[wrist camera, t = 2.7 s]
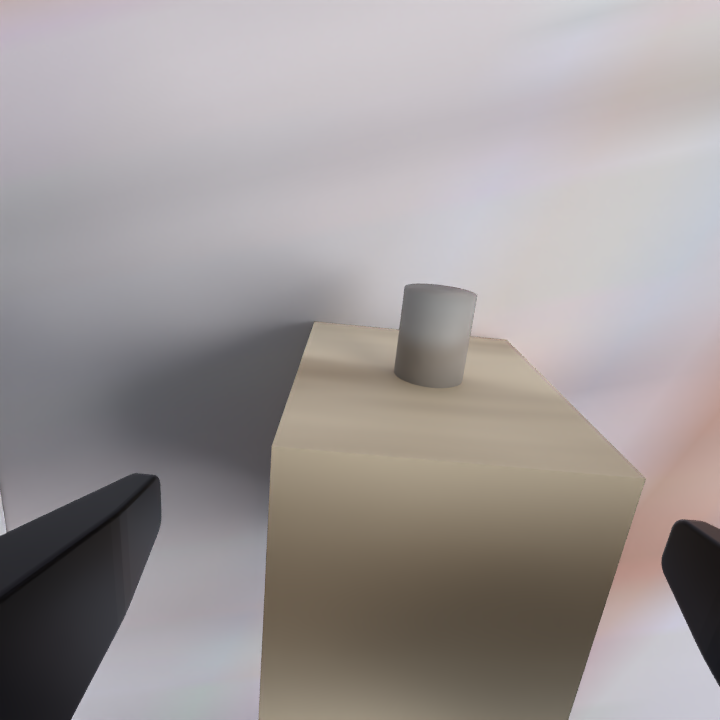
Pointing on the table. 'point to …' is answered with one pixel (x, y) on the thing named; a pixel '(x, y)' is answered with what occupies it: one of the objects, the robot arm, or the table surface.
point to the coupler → (434, 527)
